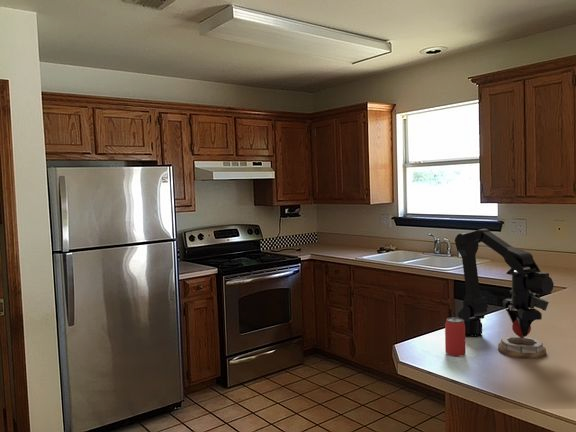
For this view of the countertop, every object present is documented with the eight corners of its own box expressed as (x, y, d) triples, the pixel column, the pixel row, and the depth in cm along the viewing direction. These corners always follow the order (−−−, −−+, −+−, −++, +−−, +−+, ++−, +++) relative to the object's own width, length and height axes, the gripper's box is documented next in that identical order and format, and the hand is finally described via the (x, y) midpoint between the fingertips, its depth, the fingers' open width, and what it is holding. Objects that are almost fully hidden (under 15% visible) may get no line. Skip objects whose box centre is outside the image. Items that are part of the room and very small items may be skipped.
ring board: (507, 358, 162) (507, 348, 162) (491, 344, 177) (491, 335, 177) (554, 358, 161) (554, 348, 161) (534, 344, 176) (534, 334, 176)
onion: (520, 341, 165) (520, 318, 165) (508, 336, 171) (508, 314, 170) (534, 339, 167) (534, 316, 166) (522, 334, 172) (522, 312, 172)
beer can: (461, 350, 172) (460, 316, 171) (468, 356, 165) (468, 321, 165) (442, 351, 172) (442, 317, 171) (449, 357, 165) (448, 322, 165)
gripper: (558, 294, 158) (558, 341, 159) (533, 283, 177) (533, 325, 178) (523, 294, 159) (523, 341, 160) (501, 283, 177) (502, 325, 178)
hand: (521, 333), depth 169 cm, fingers closed on onion, 6 cm apart
